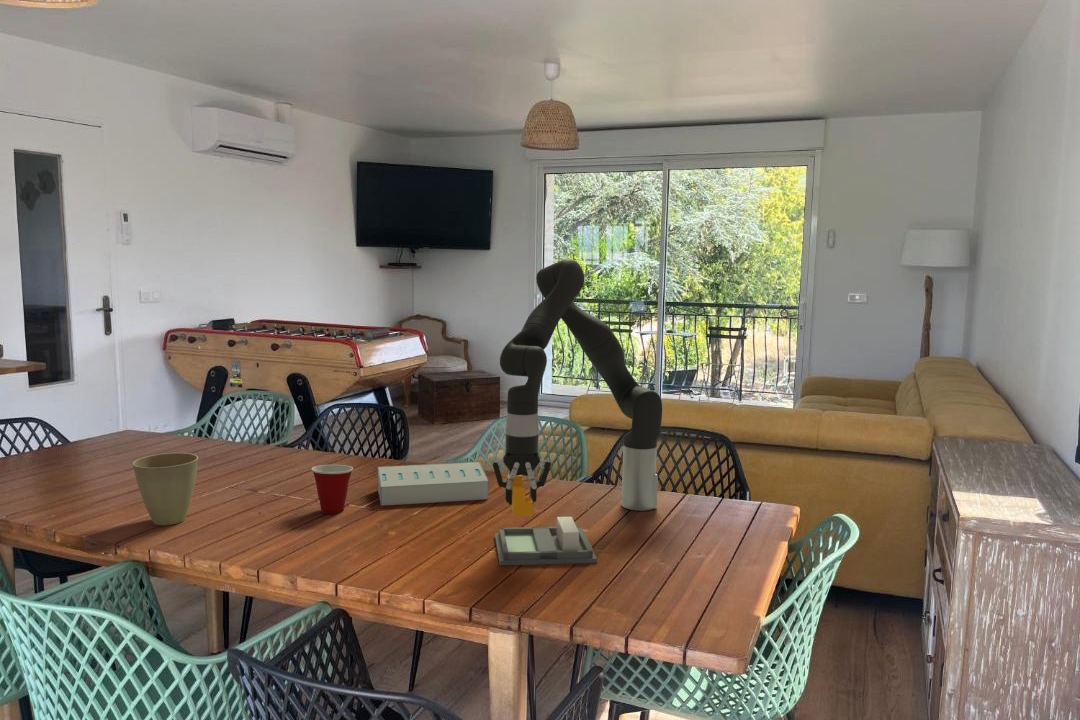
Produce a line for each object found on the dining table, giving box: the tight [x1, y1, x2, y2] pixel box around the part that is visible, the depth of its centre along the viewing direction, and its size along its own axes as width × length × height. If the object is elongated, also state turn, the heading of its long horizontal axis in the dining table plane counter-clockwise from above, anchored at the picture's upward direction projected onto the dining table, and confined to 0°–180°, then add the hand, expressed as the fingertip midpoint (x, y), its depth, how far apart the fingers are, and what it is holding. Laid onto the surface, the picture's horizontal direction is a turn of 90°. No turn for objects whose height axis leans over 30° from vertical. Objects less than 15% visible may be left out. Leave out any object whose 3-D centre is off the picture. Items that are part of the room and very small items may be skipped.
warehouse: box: [377, 461, 490, 507], centre depth 225 cm, size 30×14×8 cm, turn 105°
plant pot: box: [132, 452, 199, 526], centre depth 198 cm, size 15×15×16 cm
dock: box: [494, 516, 598, 566], centre depth 184 cm, size 22×18×6 cm
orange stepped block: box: [510, 475, 534, 517], centre depth 182 cm, size 12×4×6 cm, turn 6°
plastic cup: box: [311, 464, 354, 515], centre depth 209 cm, size 11×11×12 cm
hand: (520, 503), depth 183 cm, fingers closed on orange stepped block, 4 cm apart
